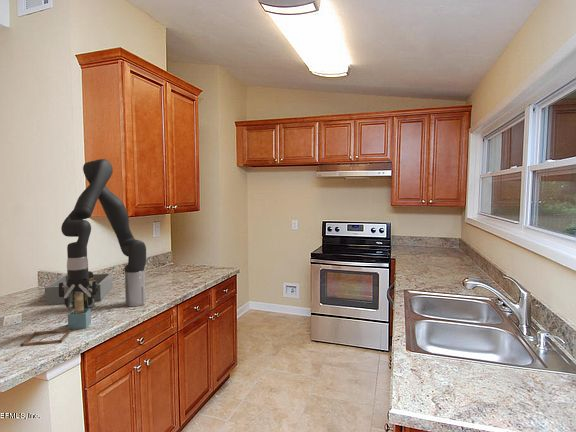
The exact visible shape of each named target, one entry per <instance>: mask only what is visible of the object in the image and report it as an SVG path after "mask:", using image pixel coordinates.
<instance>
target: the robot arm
mask: <svg viewBox="0 0 576 432" xmlns="http://www.w3.org/2000/svg"><path fill="white" fill-rule="evenodd" d="M82 171H83V175H84V177H85V179H86V181H87V182H88V184H89V185H88V186H87V187H86V188H85V189H84V190H83V191H82V192H81V194H80V195H79V197H78V198H77V200H76V203H75V205H74V207H73V209H72V211H71V212H70V213H69V214H68V215H67V217H66V218H65V219H64V221H63V222H62V224H61V227H60V229H61V233H62V234H63V236H65V237H68V238H71V237H72V238H73V237H74V238H75V237H76V238H77V240H76V241H73V242H69V243H68V244H67V247H66V248H67V249H66V251H67V252H66V253H67V259H66V271H67V272H66V275H67V279H68V281H67V282H60V283H59V297H63V298H64V301H65V304H64V307H66V308H69V307H70V306H71V303H70V297H69V295H70V294H71V293H72V291H73V292H77V291H79V292H82V291H84V293H86V294H87V295H88V296H89V297H88V306H89V305H91V304H92V303H93V295H96V294H97V293H98V288H97V280H94V281H89V279H88V271H89V259H88V243H89V240H90V236H91V232H92V225H91V223H90V221H88V220H87V219H89V218H91V217H92V215H93V213H94V210H95V207H96V204H97V201H99V203H100V205H101V208H102V209H103V211H104V213H105V216H106V218H107V219H108V222H109V224H110V226H111V228H112V230H113V232H114V234H115V237H116V238H117V241H118V244H119V247H120V251H121V252H122V254H123V255H124V256H126V257H128V259H127V260H128V261H127V264H126V265H125V266H124V287H125V288H124V289H125V290H124V291H125V292H124V294H125V295H124V296H125V297H124V298H125V302H124V303H125V306H127V307H138V306H145V303H146V302H147V293H146V291H147V289H146V286H147V285H146V283H145V279H146V277H145V266H146V264H147V246H146V244H145V242H144V241H142V240H138V239H135V236H134V235H133V233H132V232H131V231H132V230H131V229H130V217H129V213H128V210H127V208H126V207H125V203H124V202H123V201H122V199H121V198H119V197H118V196H117V195H116V194H115V193H114V192H112V191H111V190H110V189H109V188H108V187H107V184H108V182H109V180H110V179H111V178H112V174H113V172H114V171H113V165H112V164H111V162H110V161H109V160H108V159H106V158H99V159H96V160H91V161H86V162H85V163H84V164H83V166H82ZM89 284H91V286H92V287H93V292H91V290H90V288H89V287H88V285H89ZM66 285H67V286H68V287H69V290H68V291H67V293H66V294H65V293H64V287H65V286H66Z"/></svg>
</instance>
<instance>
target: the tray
mask: <svg viewBox="0 0 576 432" xmlns="http://www.w3.org/2000/svg"><path fill="white" fill-rule="evenodd" d="M72 331H73V330H72V329H68V328H67V329H57V330H56V329H55V330H54V329H53V330H43V331H42V330H41V331H35V332H33V333H32V334H31V335H30V336H29V337H27V338H26V339H25V340H23V341H22V342H21V343H20V347H27V346H36V345H37V346H38V345H39V346H40V345H49V344H50V345H51V344H60V343H62V342H63V341H64V340H65V339H66V338H68V336H69V335H70V334H71V332H72ZM62 333H64V334H63V335H62V336H61V337H60V339H51V340H41V341H31V340H32V339H33V338H35V337H36V336H39V335H49V334H51V335H53V334H62Z"/></svg>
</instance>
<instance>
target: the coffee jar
mask: <svg viewBox="0 0 576 432" xmlns="http://www.w3.org/2000/svg"><path fill="white" fill-rule="evenodd" d="M93 274H94V272H93V271H89V270H88V279H89V281H93V278H94V277H93ZM88 287H89V288H90V290H91V292H93V287H92V286H91V284H89V285H88ZM75 293H79V291H77V292H73V296H72V303H71V306H72V308H73V309H75V297H74V294H75ZM82 293H83V299H84V309H90V308H91V309H92V308H93V307H94V306H95V302H94V295H93V303H92V304H91V305H89V306H88V297H89V296H88V295H87V294H86V293H84V291H82Z"/></svg>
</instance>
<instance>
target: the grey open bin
mask: <svg viewBox="0 0 576 432" xmlns="http://www.w3.org/2000/svg"><path fill="white" fill-rule="evenodd" d="M93 277H94V278H93V281H94V280H97V288H98V293H97V294H96V295H94V303H97V302H98V303H99V302H102V301H103V300H104V299H105V297H106V296H107V295H108V294H109V293H110V292H111V291H112V290H113V289H114V288H113V287H114V286H113V284H114V283H113V273H93ZM67 281H68V279H67V274H66V275H62V276H61V277H59V278H57V279H56V280H54V281H53V282H51V283H50V284H48V285H46V286H45V287H44V301H45V302H44V303H45V305H46V306H47V305H49V306H51V305H52V306H53V305H65V301H64V298H63V297H59V283H60V282H67ZM68 290H69V287H68V286H67V285H66V286H65V287H64V293H65V294H66V293H67V291H68ZM72 296H73V291H72V293H71V294H70V295H69V297H70V304H72Z"/></svg>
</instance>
